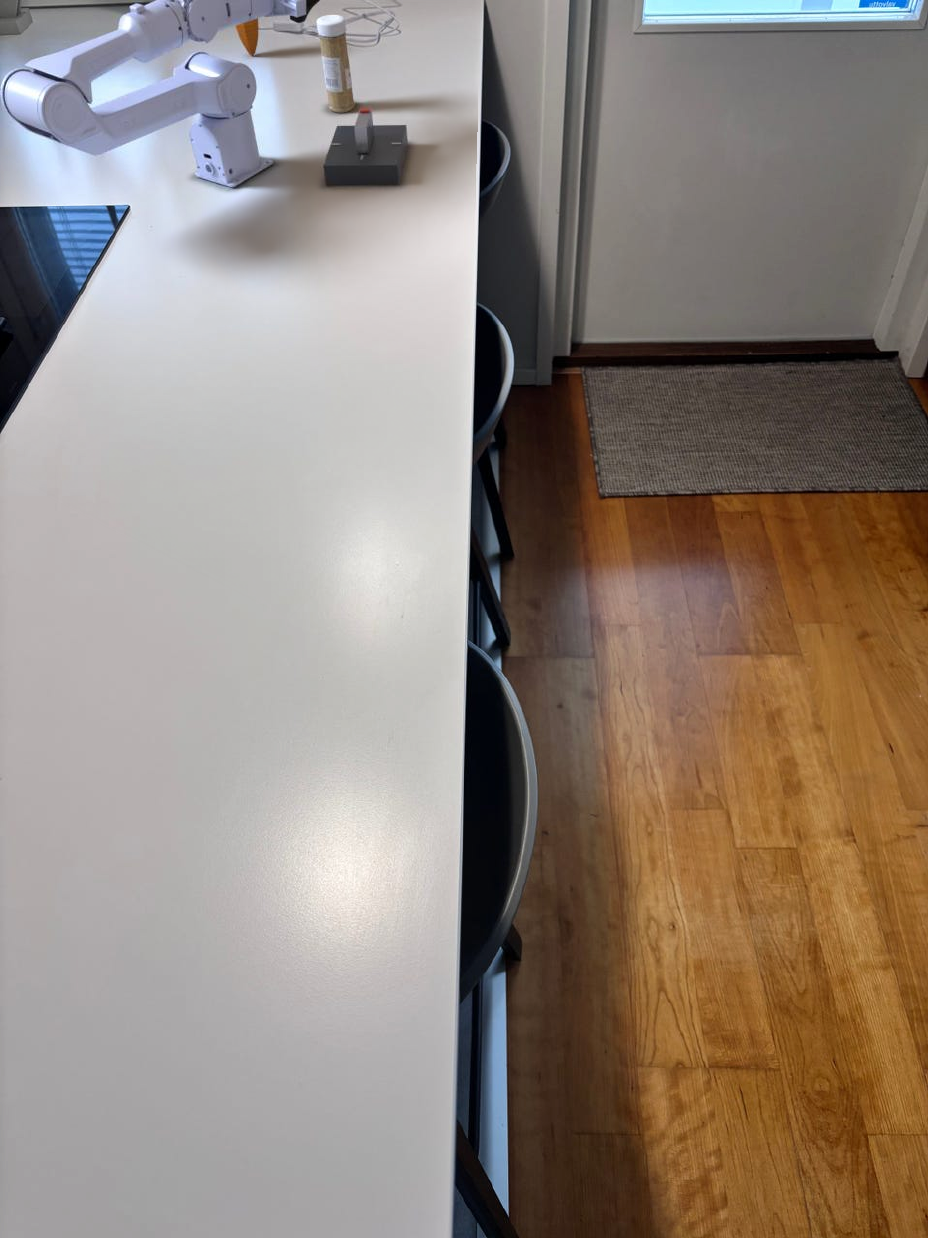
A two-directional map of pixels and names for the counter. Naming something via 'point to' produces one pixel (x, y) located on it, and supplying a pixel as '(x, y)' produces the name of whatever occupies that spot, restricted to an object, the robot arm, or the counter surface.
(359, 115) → the tap handle
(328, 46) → the sprinkles bottle
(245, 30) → the carrot
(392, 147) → the base
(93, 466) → the counter surface
